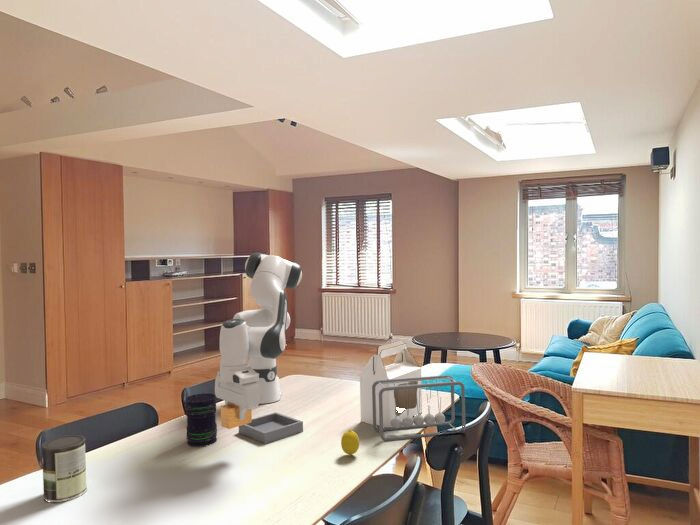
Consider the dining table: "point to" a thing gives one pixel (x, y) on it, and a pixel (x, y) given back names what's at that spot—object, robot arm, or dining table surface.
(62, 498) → the coffee can
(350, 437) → the lemon
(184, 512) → the dining table surface
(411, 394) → the gable box
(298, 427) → the grey tray
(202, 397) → the black ridged cylinder
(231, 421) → the wooden block
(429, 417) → the newton's cradle
